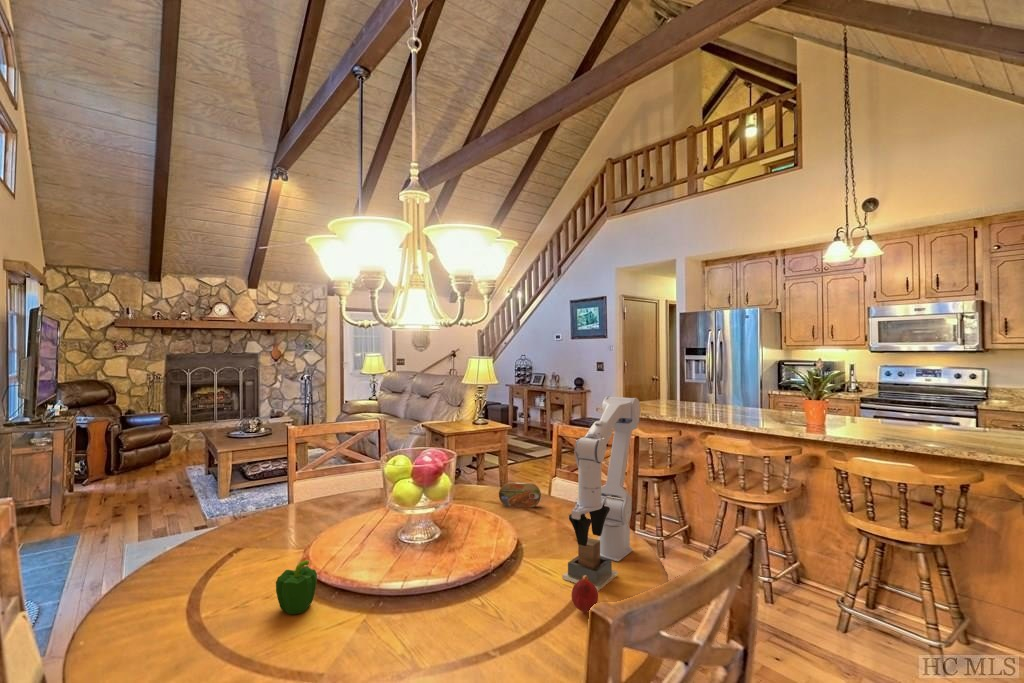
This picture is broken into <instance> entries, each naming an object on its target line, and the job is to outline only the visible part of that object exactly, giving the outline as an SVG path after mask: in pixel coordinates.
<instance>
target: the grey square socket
mask: <svg viewBox="0 0 1024 683" xmlns="http://www.w3.org/2000/svg"><path fill="white" fill-rule="evenodd" d="M561 575H562V578H561V579H562V580H564V579H565V581H567V582H570V581H571V582H570V583H573V582H574V583H573V584H576V583H577V582H578V581H580V580H582V578H583V576H584V575H586V576H587V577H588V580H589V581H591V582H592V583H593V584H594V586H595V587H596V589H597V592H599V591H601V590H602V589H603V588H604V587H606V586H607V585H609V583H610V582H611V581H613V580H614V579H615V578H616V577H617V576H618V571H616V570H613V560H611V559H607V558H604V557H601V556H600V566H598V567H597V568H596V569H593V568H590V567H587V566H584V565H580V564H578V555H577V556H575V557H574V558H572V559H571V560H570V561H568V562H567V571H566V572H565V573H563V574H561ZM614 577H615V578H614ZM613 578H614V579H613ZM612 579H613V580H612ZM606 584H607V585H606ZM600 589H601V590H600Z"/></svg>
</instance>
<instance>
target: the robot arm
mask: <svg viewBox="0 0 1024 683" xmlns="http://www.w3.org/2000/svg"><path fill="white" fill-rule="evenodd" d="M601 407H602V415H601V417H600V419H599V420H596V421H594V422H593V423H592V425H591V426H590V428H589V429H588V431H587V433H586V434H585V436H584V437H583V436H582V437H580V438H578V439H577V440H576V441H575V444H574V450H573V453H574V457H575V462H576V463H575V464H576V465H575V466H576V467H577V468H578V470H577V471H578V473H577V474H578V478H577V479H578V480H577V481H578V484H577V486H578V492H577V493H578V494H577V495H578V496H577V497H578V498H577V499H575V500H574V504H575V507H573V509H572V510H571V513H570V514H569V515H568V519H569V522H570V523H571V525H572V528H573V530H574V533H575V538H576V541H577V545H578V544H579V545H583V546H586V545H587V541H588V538H589V530H590V526H591V532H592V535H594V536H597V537H598V540H599V541H600V557H603V558H606V559H609V560H612V561H615V562H620V561H621V560H623V559H624V558H625V557H626V556H628V555H629V554H630V553H632V552H633V551H634V550H633V548H632V547H631V546H630V544H631V543H630V541H631V540H630V539H631V538H630V537H631V535H630V534H631V530H630V529H631V528H630V525H629V521H630V519H631V517H632V502H633V501H632V496H631V494H630V493H629V492H628V491H627V490H626V489H625V488H624V483H625V476H626V471H627V464H628V457H629V450H630V445H631V444H630V443H631V438H632V437H631V436H632V433H633V431H634V430H637V429H638V428H639V424H640V416H641V403H640V400H639V399H638V398H637V397H621V396H610V395H606V396H605V398H604V399H603V401H602V406H601ZM613 431H614V432H613ZM613 433H614V434H613ZM612 436H613V439H612V445H611V452H610V457H609V463H608V469H607V475H606V476H607V477H606V481H605V482H606V483H604V485H602V462H604V459H605V457H606V456H605V455H606V451H607V445H608V443H609V441H610V439H611V438H612ZM588 513H589V517H590V518H588V517H587V516H586V514H588Z"/></svg>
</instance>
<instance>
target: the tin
mask: <svg viewBox="0 0 1024 683" xmlns="http://www.w3.org/2000/svg"><path fill="white" fill-rule="evenodd" d="M541 497H542V493H541V490H540V488H539V487H538V486H537V485H536V484H535V483H532V482H512V481H511V482H507V483H504V484H503V485H502V486H501V487H500V489H499V491H498V499H499V502H501V503H502V504H503V505H504V506H506V507H509V508H522V509H523V508H524V509H525V508H526V509H527V508H530V509H532V508H535V507H536V506H537V505H538V504H540V501H541Z"/></svg>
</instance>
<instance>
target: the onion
mask: <svg viewBox="0 0 1024 683" xmlns="http://www.w3.org/2000/svg"><path fill="white" fill-rule="evenodd" d="M598 592H599V591H597V589H596V587H595V586H594V584H593V583H592V582H591V581H589V580H588V577H587V576H586V575H584V576H583V578H582V580H580V581H578V582H577V583H574V585H573V587H572V590H571V600H572V603H573V605H574V606H575V608H576V609H577V610H579V611H580V612H581V613H584V614H587V613H589V612H590V611H591V610H590V608H591V607H592V606H593V605H594V604H596V603H597V604H598V601H599V593H598ZM597 604H596V605H597ZM589 610H590V611H589Z"/></svg>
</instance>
